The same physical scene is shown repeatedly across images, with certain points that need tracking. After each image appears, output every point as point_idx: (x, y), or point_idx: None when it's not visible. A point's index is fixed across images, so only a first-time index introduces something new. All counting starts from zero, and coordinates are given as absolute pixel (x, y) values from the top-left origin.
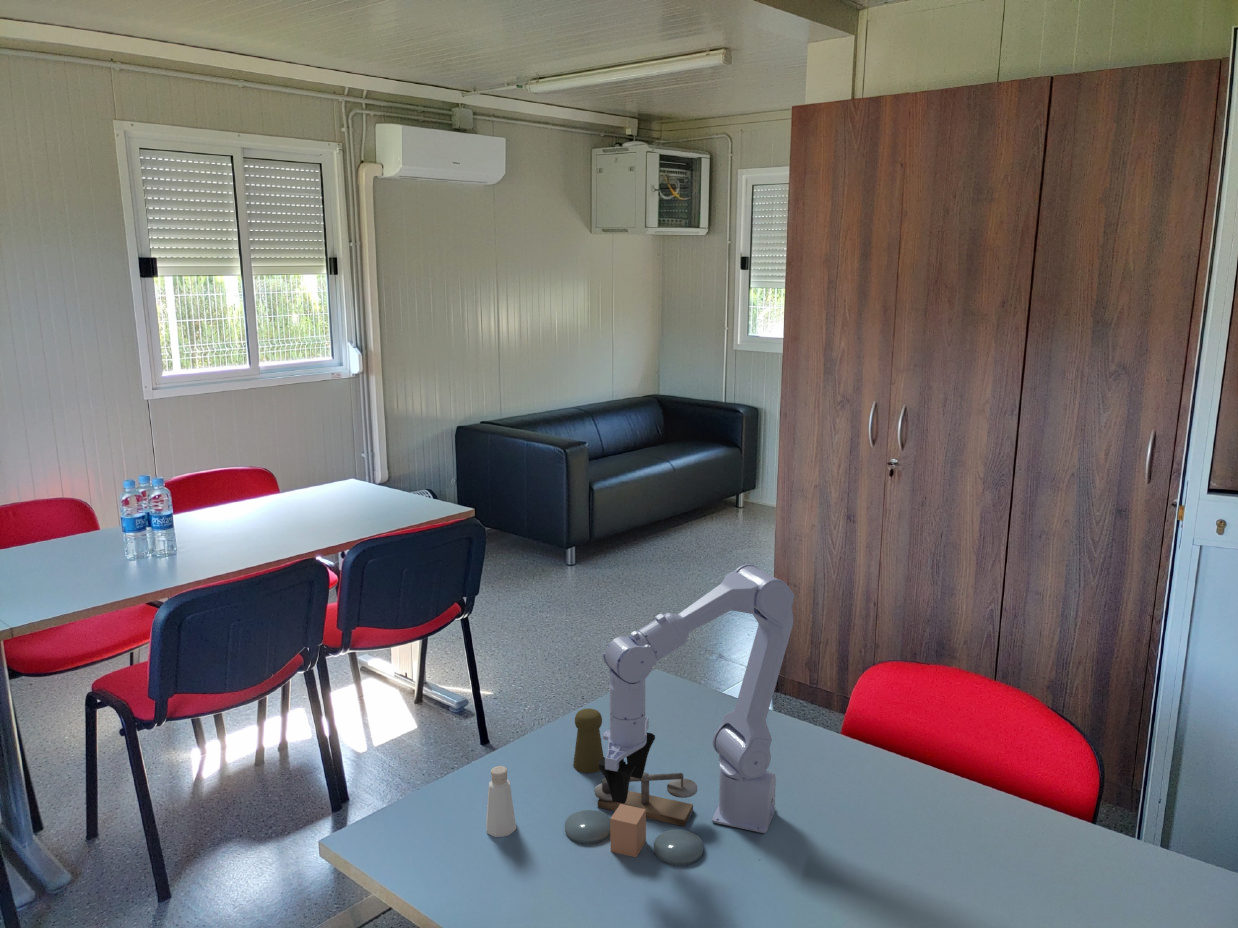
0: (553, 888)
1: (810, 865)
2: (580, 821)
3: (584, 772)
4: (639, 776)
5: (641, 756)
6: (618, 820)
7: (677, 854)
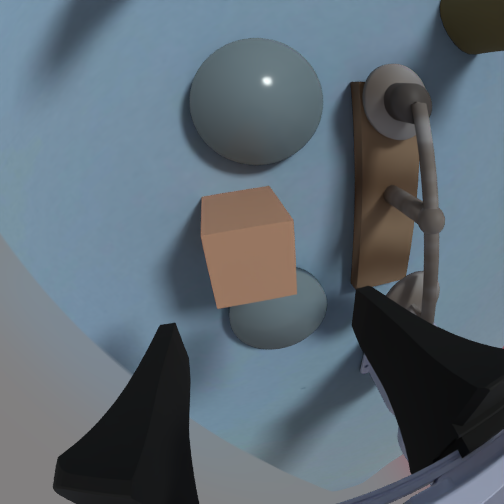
0: (33, 170)
1: (312, 416)
2: (257, 76)
3: (441, 18)
4: (355, 326)
5: (395, 394)
6: (206, 261)
7: (248, 326)
